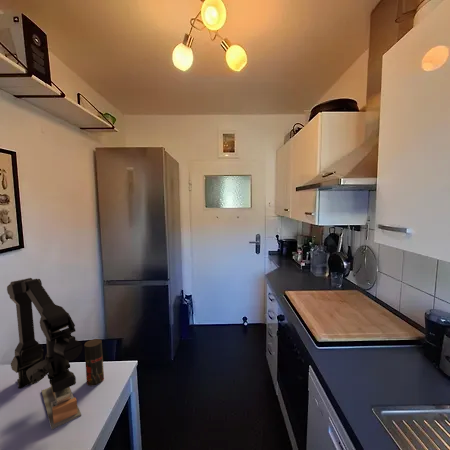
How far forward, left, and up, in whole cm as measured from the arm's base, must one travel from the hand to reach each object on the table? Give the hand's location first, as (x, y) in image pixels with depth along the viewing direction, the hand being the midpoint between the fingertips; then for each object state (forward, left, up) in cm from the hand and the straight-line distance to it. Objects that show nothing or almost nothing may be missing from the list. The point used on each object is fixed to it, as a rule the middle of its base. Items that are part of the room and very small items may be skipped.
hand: (60, 395), depth 90 cm
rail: (-2, 0, -4) cm, 4 cm away
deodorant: (-7, +12, -4) cm, 15 cm away
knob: (+4, 0, -4) cm, 6 cm away
